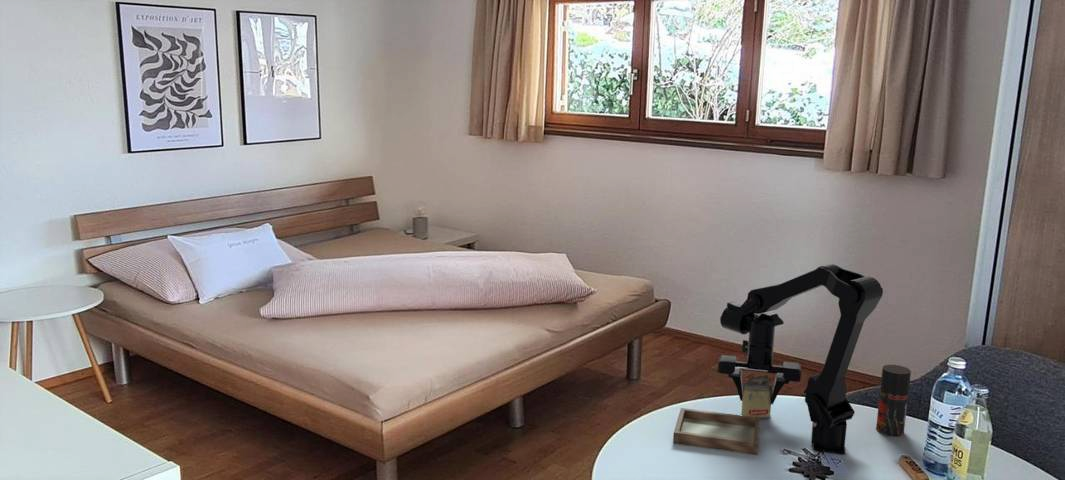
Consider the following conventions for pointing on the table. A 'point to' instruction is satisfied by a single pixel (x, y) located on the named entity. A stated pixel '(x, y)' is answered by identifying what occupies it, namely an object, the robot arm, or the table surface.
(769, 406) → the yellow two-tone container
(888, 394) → the deodorant
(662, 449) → the table surface
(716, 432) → the tray
